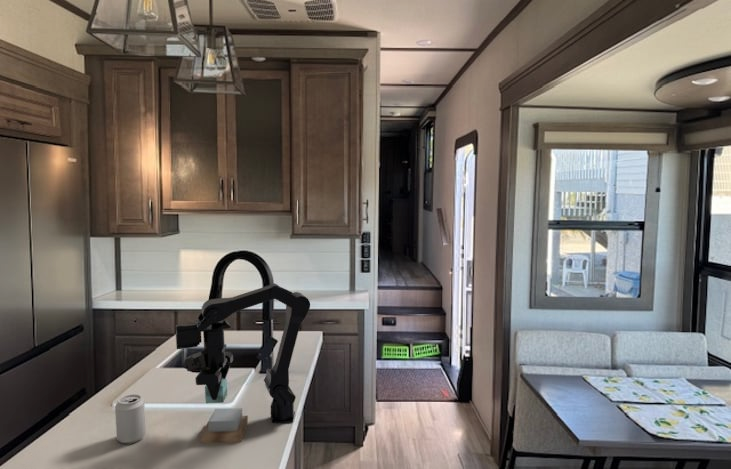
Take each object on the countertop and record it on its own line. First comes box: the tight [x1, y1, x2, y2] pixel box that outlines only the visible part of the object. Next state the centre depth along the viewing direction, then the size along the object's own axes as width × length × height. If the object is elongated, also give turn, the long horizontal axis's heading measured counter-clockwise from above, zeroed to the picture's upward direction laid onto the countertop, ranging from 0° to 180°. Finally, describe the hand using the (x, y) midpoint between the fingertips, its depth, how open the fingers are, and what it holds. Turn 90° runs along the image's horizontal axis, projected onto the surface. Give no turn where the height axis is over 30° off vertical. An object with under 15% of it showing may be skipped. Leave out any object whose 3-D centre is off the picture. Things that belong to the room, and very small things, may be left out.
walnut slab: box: [200, 415, 249, 444], centre depth 146 cm, size 11×11×3 cm
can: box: [114, 393, 147, 445], centre depth 142 cm, size 8×8×12 cm
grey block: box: [207, 407, 243, 432], centre depth 145 cm, size 8×8×3 cm
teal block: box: [204, 378, 228, 404], centre depth 146 cm, size 5×5×5 cm
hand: (216, 395), depth 146 cm, fingers closed on teal block, 5 cm apart
